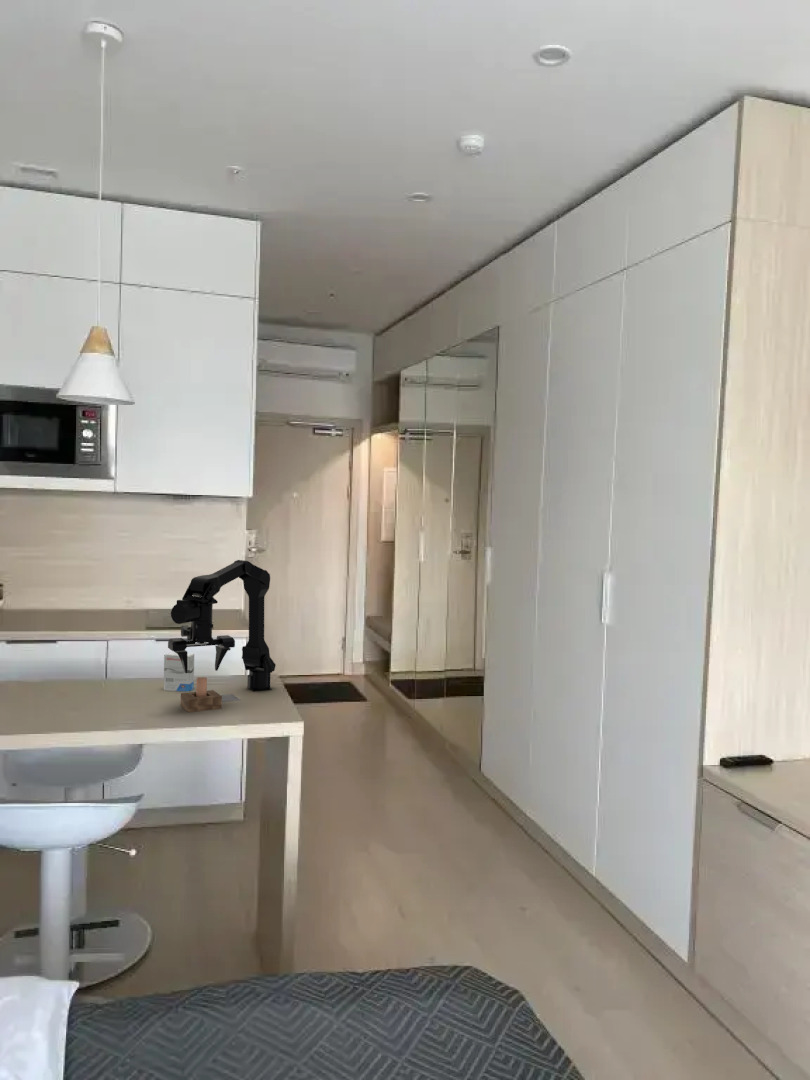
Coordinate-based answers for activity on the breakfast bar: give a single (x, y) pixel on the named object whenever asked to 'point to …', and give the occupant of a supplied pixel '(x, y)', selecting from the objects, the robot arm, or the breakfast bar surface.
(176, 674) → the ink box
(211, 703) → the hole block
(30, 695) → the breakfast bar surface
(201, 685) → the peg
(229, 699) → the mat
